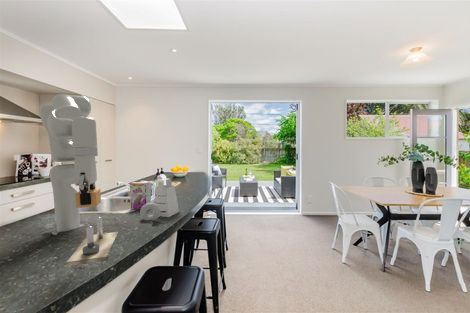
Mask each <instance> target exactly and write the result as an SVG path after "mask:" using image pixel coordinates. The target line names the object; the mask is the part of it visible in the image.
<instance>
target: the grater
mask: <svg viewBox="0 0 470 313" xmlns="http://www.w3.org/2000/svg"><path fill="white" fill-rule="evenodd" d="M164 183H165V184H164ZM172 183H173V182H172V179H171V178H167V177H166V178H162V179H161V178H160V179H158V182H157V187H155V191H154V202H153V203H155V204H157V205H158V206H159V208H160V215H159V217H161V216H162V217H163V218H170V217H171V216H174V215H176V214H178V213H180V208H179V204H178V203H179V202H178V197H177V192H176V188H175V187H176V186H175V185H173V184H172ZM152 211H153V210H152ZM153 213H154V211H153V212H152V214H153ZM162 217H161V218H162Z"/></svg>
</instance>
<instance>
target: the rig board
mask: <svg viewBox="0 0 470 313" xmlns="http://www.w3.org/2000/svg"><path fill="white" fill-rule="evenodd" d="M118 234H119V231H112V232H105V233H104V232H103V238H102V239H98V235H97V233H95V234H94V244H98V245H99V252H98V253H96V254H94V255H89V256H84V255H83V247H85V246H87V236H86V237H85V238H84V240H83V241H82V242H81V243H80V244H79V245H78V247H77V249H75V251H74V252H73V253H72V255H71V256H70V257H69V259H68V260H67V261H66V267H73V266H78V265H79V266H80V265H85V264H92V263H99V262H107V260H108V258H109V256H108V254H109V252H110V250H111V249H112V248H111V247H112V246H113V244H114V242H115V239H116V238H117V236H118Z"/></svg>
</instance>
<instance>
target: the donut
mask: <svg viewBox="0 0 470 313" xmlns="http://www.w3.org/2000/svg"><path fill="white" fill-rule="evenodd" d="M157 204H158V203H157ZM157 204H155V203H154V202H150V203H147V204H145V205H144V206H143V207H142V208H141V209H139V214H140V215H139V216H140V218H141V219H142V220H143V221H152V222H155V221H157V219H159V217H160V216H159V215H160V208H159V206H158V205H157ZM149 210H152V211H154V213H153V212H152V214H150V215H149V214H148V211H149Z"/></svg>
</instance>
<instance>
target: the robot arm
mask: <svg viewBox="0 0 470 313" xmlns="http://www.w3.org/2000/svg"><path fill="white" fill-rule="evenodd" d="M91 111H92V106H91V101H90V100H89V98H88V97H86V96H82V95H75V94H61V93H60V94H57V95H55V96H53V97H52V98H51V103H45V104H43V105H41V106H40V108H39V116H40V120H41V123H42V124H43V127H44V129H45V131H46V133H47V136H48V140H49V142H48V143H49V150H50V156H51V159H52V160H53V161H54V162H55V163H61V164H56V165H54V166H52V167H51V168H50V170H49V178H50V182H51V188H52V194H53V205H54V220H55V222H54V223H47V224H45V226H44V227H45V229H46V230H51V229H52V230H51V234H52V235H53V236H57V235H58V234H59V233H60V232H67V231H73V230H76V229H79V228H81V227H84V226H85V225H84V224H82V223H81V218H80V208H76V201H75V194H76V193H77V192H79V193H80V205H90V204H91V193H89V191H90V190H94V189H96V188H97V187H96V182H97V180H98V179H97V178H98V176H97V174H98V173H97V162H96V161H97V160H96V157H98V156H99V153H98V152H99V151H98V136H97V133H98V132H97V122H96V120H95V119H94V118H93V117H89V115H90V113H91ZM70 162H71V163H70ZM72 162H74V163H72ZM62 163H63V164H62ZM64 163H65V164H64ZM72 185H75V186H76V187H78V189H79V191H77V189H75V188H74V187H73V186H72Z"/></svg>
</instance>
